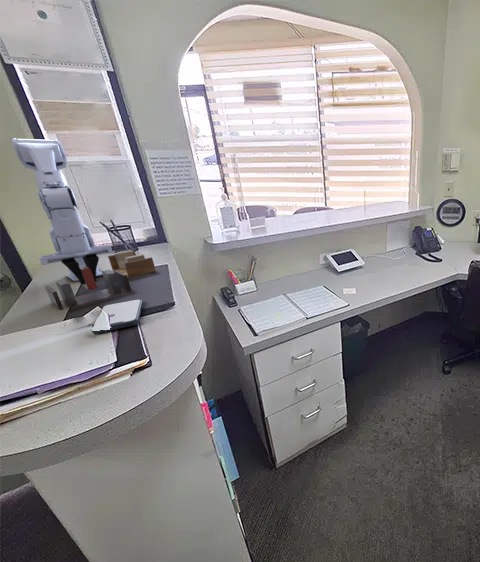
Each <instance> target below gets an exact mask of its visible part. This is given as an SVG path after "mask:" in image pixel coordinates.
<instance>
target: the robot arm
mask: <svg viewBox="0 0 480 562" xmlns="http://www.w3.org/2000/svg"><path fill="white" fill-rule="evenodd" d="M11 143H12V146H13V148H14V151H15V154H16V156H17V158H18V161H20V163H21V165H23V166H24V168H25V169H29V170H34V171H35V173H34V179H35V183H36V186H37V189H38V190H37V191H36V194H37V197H38V200H39V202H40V205H41V207H42V210H43V211H44V212H45V214H46V216H47V219H48V220H49V221H50V224H51V227H50V228H49V231H48V232H49V235H50V239H51V242H52V245H53V248H54V250H55V253H54V252H53V253H51V254H46V255H40V256H38V258H39V261H40V263H41V265H42V266H46V265H49V264H53V263H59V262H61V263H62V264H63V265H64V266H65V267H66V268H67V270H68V272H69V273H68V274H66V277H68V278H69V279H71V280H72V281H73V282H79V284H80V285H82V286H83V285H84V284H85V281H84V278H83V276H82V274H81V271H80V268H79V266H82V265H85V266H87V267H89V268H90V269H91V272H92V275H93V278H94V280H95V283H96V282H97V277H101V276H103V274H102V271H101V270H99V268H98V264H99V261H100V257H99V256H98V255H103V254H110V253H111V254H112V253H113V252H114V251H113V248H112V246H111V245H110V244H106V245H98V246H96V244H95V241H94V238H93V235H92V232H91V231H90V229H89V227H88V226H87V224H84V223H82V220H81V216H80V214H79V212H78V210H79V205H78V201H77V199H76V195H75V193H74V191H73V189H72V188H71V187H70V185H68V182H67V179H66V177H65V175H64V174H63V173H62V172H61V170H63V169H65V168H67V165H68V162H67V161H68V160H67V155H66V153H65V151H64V150H65V149H64V146H63V144H62V142H61V141H60V140H59V139H38V138H37V139H33V138H17V137H13V139H12V140H11ZM75 208H76V209H75Z"/></svg>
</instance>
